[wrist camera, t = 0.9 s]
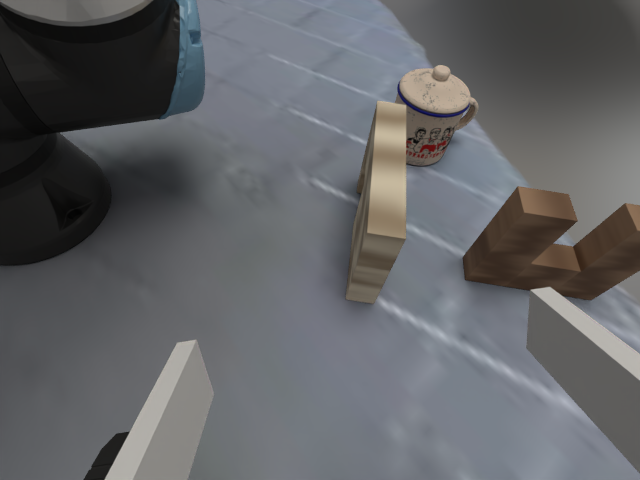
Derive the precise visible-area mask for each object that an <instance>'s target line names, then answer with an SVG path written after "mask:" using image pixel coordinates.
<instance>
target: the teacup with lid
mask: <svg viewBox="0 0 640 480" xmlns="http://www.w3.org/2000/svg"><path fill="white" fill-rule="evenodd" d="M395 104H402V105H406V163H408V164H411V165H418V166H424V165H430V164H433V163H435V162H437V161H438V160H440V159H441V158H442V156H443V154H444V152H445V150H446V148H447V146H448V144H449V142H450V140H451V138H452V136H453V134H454V132H455V131H456V130H459V129H461V128H463V127H464V126H466V125H467V124H468V123H469V122H470V121H471V120H472V119H473V118H474V116H475V115H476V113H477V111H478V103H477V102H476V100H475V99H474V98H472V97H470V92H469V90H468V88H467V86H466V85H465V84H464V83H463V82H462V81H461V80H460V79H458V78H457V77H455V76H454V75H451V74H450V70H449V68H448V67H446V66H443V65H439V66H436V67H435V68H434V69H417V70H413V71H411V72H409V73H407V74H406V75H404V76H403V78H402V79H401V80H400V82H399V84H398V94H397V97H396V101H395ZM469 105H471V107H470V109H469V111H468V112H467V113H466V115H465V116H464V117H463V118H461V117H462V115H463V113H464V112H465V111H466V110H467V108H468V107H469Z"/></svg>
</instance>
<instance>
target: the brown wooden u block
mask: <svg viewBox="0 0 640 480" xmlns="http://www.w3.org/2000/svg"><path fill="white" fill-rule="evenodd" d="M576 222H577V218H576V215H575V212H574V209H573V206H572V203H571V200H570V197H569V195H568V194H564V193H557V192H551V191H545V190H538V189H532V188H526V187H519V186H518V187H517V188H516V189H515V191H514V192H513V193H512V194H511V196H510V197H509V198H508V200H507V201H506V202H505V203H504V205H503V206H502V207H501V209H500V210H499V211H498V212H497V214H496V215H495V216H494V218H493V219H492V220H491V222H490V223H489V224H488V225H487V227H486V228H485V229H484V231H483V232H482V233H481V234H480V236H479V237H478V238H477V240H476V241H475V242H474V243H473V245H472V246H471V247H470V249H469V250H468V251H467V252H466V254H465V255H464V256H463V265H464V274H465V280H468V281H474V282H480V283H487V284H493V285H499V286H505V287H512V288H518V289H524V290H532V289H539V288H546V287H551V288H552V289H554V290H555V291H556V292H558V293H559V294H560V295H562V296H568V297H574V298H580V299H586V300H592V299H594V298H595V297H597V296H599V295H600V294H602V293H604V292H605V291H607V290H609V289H610V288H612V287H613V286H615V285H617V284H618V283H620V282H621V281H623V280H625V279H627V278H628V277H630V276H632V275H633V274H635V273H636V272H638V271H640V206H639V205H633V204H627V203H625V204H624V205H622V206H621V207H620V208H619V209H618V210H616V211H615V212H614V213H613V214H612V215H610V216H609V217H608V218H607V219H606V220H605V221H603V222H602V223H601V224H600V225H598V226H597V227H596V228H595V229H594V230H592V231H591V232H590V233H589V234H588V235H586V236H585V237H584V238H583V239H582V240H580V241H579V242H578V243H577V244H576V245H574V246H573V247H572V246H566V245H559V244H553V243H554V242H555V241H556V240H557V239H558V238H559V237H561V236H562V235H563V234H564V233H565V232H566V231H567V230H568V229H569V228H570V227H571V226H573V225H574V224H575V223H576Z"/></svg>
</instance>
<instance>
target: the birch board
mask: <svg viewBox="0 0 640 480" xmlns="http://www.w3.org/2000/svg"><path fill="white" fill-rule="evenodd" d="M357 193H361V197H360V201H359V205H358V209H357V212H356V216H355V220H354V224H353V233H352V243H351V252H350V261H349V271H348V280H347V290H346V300H352V301H358V302H365V303H371V304H374V303H375V301H376V299H377V297H378V295H379V293H380V291H381V289H382V287H383V285H384V283H385V281H386V279H387V276H388V274H389V272H390V270H391V268H392V266H393V264H394V262H395V260H396V258H397V256H398V254H399V252H400V250H401V248H402V246H403V244H404V242H405V240H406V105H402V104H395V103H389V102H383V101H377V105H376V109H375V113H374V117H373V121H372V126H371V130H370V134H369V138H368V142H367V146H366V150H365V155H364V159H363V163H362V167H361V171H360V175H359V179H358V186H357Z"/></svg>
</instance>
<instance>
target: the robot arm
mask: <svg viewBox="0 0 640 480" xmlns="http://www.w3.org/2000/svg"><path fill="white" fill-rule="evenodd" d="M200 37H201V31H200V19H199V13H198V8H197V3H196V0H0V265H19V264H27V263H32V262H37V261H41V260H44V259H47V258H50V257H53V256H55V255H58V254H60V253H62V252H64V251H66V250H68V249H70V248H72V247H73V246H75V245H76V244H78V243H79V242H81V241H82V240H83V239H85V238H86V237H87V236H88V235H89V234H91V233H92V232H93V231H94V230H95V229H96V227H97V226H98V225H99V224H100V223H101V221H102V220H103V218H104V217H105V215H106V213H107V211H108V208H109V205H110V201H111V190H110V186H109V183H108V181H107V179H106V178H105V176H104V174H103V172H102V171H101V169H100V167H99V166H98V165H97V164H96V163H95V161H94V160H92V159H91V158H90V157H89V156H88V155H86V154H85V153H84V152H83V151H81V150H80V149H79V148H78V147H76V146H75V145H74V144H73V143H71V142H70V141H69V140H68V139H66V138H65V137H64V136H63V135H61V134H60V132H67V131H74V130H81V129H89V128H96V127H103V126H111V125H118V124H125V123H132V122H140V121H147V120H154V119H165V118H167V117H168V116H171V115H175V114H180V113H184V112H189V111H192V110H194V109H195V108H197V107H198V105H199V104H200V103H201V101H202V99H203V95H204V89H205V62H204V51H203V44H202V41H201V39H200ZM526 348H527V349H528V351H529V352H530V353H531V354H532V355H533V356H534V357H535V358H536V359H537V360H538V362H539V363H540V364H541V365H542V366H543V367H544V368H545V369H546V370H547V372H548V373H549V374H550V375H551V376H552V377H553V378H554V379H555V380H556V381H557V383H558V384H559V385H560V386H561V387H562V388H563V389H564V390H565V391H566V393H567V394H568V395H569V396H570V397H571V398H572V399H573V400H574V401H575V402H576V404H577V405H578V406H579V407H580V408H581V409H582V410H583V411H584V412H585V413H586V415H587V416H588V417H589V418H590V419H591V420H592V421H593V422H594V423H595V425H596V426H597V427H598V428H599V429H600V430H601V431H602V432H603V433H604V434H605V436H606V437H607V438H608V439H609V440H610V441H611V442H612V443H613V444H614V446H615V447H616V448H617V449H618V450H619V451H620V452H621V453H622V454H623V455H624V457H625V458H626V459H627V460H628V461H629V462H630V463H631V464H632V465H633V467H634V468H635V469H636V470H637V471H638V472H639V473H640V354H639V353H638V352H636V351H635V350H634V349H632V348H631V347H630V346H628V345H627V344H626V343H624V342H623V341H622V340H620V339H619V338H618V337H616V336H615V335H614V334H612V333H611V332H610V331H608V330H607V329H606V328H604V327H603V326H602V325H600V324H599V323H598V322H596V321H595V320H594V319H592V318H591V317H590V316H588V315H587V314H586V313H584V312H583V311H582V310H580V309H579V308H578V307H576V306H575V305H574V304H572V303H571V302H570V301H568V300H567V299H566V298H564V297H563V296H562V295H560V294H559V293H558V292H556V291H555V290H554V289H552V288H551V287H546V288H539V289H532V290H530V300H529V315H528V330H527V345H526ZM213 396H214V392H213V389H212V386H211V383H210V380H209V377H208V373H207V370H206V367H205V364H204V361H203V358H202V355H201V352H200V349H199V346H198V343H197V340H191V341H185V342H178V343H177V344H176V346H175V348H174V350H173V352H172V354H171V356H170V357H169V359H168V361H167V363H166V365H165V367H164V369H163V371H162V373H161V374H160V376H159V378H158V380H157V382H156V384H155V386H154V388H153V389H152V391H151V393H150V395H149V397H148V399H147V401H146V403H145V404H144V406H143V408H142V410H141V412H140V414H139V416H138V418H137V420H136V421H135V423H134V425H133V427H132V429H131V431H130V432H125V433H118V434H116V435H115V436H114V437H113V438H112V439H111V440H110V441H109V442H108V443H107V444H106V445H105V446H104V447H103V448H102V449H101V451H100V453H99V454H98V456H97V458H96V459H95V461H94V463H93V465H92V466H91V467H92V468H91V470H89V471H88V473H87V475H86V476H85V478H84V480H188V477H189V473H190V470H191V467H192V464H193V460H194V457H195V454H196V451H197V448H198V444H199V441H200V438H201V435H202V432H203V428H204V425H205V422H206V419H207V415H208V412H209V409H210V406H211V403H212V399H213Z"/></svg>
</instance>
